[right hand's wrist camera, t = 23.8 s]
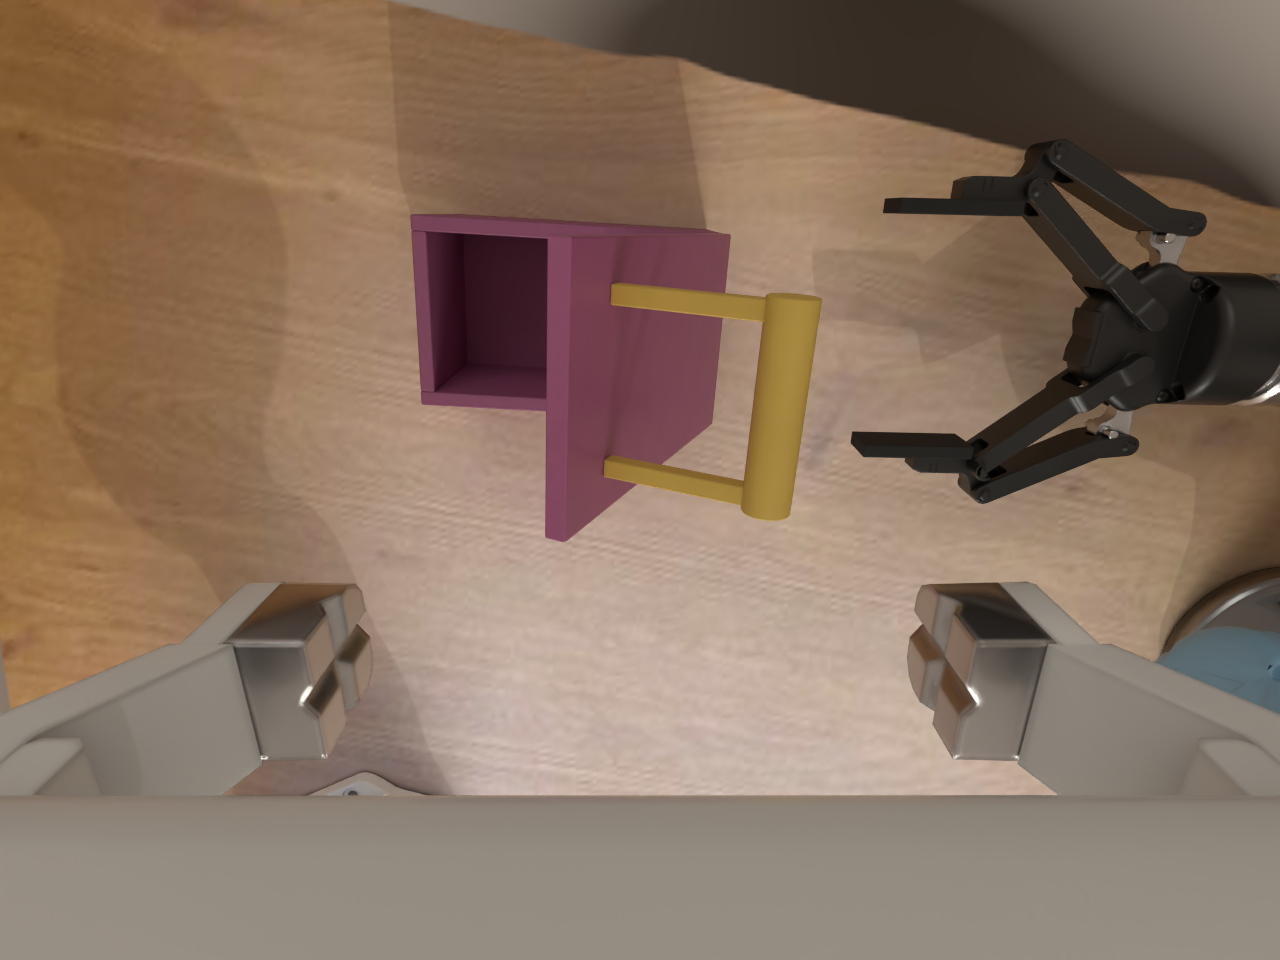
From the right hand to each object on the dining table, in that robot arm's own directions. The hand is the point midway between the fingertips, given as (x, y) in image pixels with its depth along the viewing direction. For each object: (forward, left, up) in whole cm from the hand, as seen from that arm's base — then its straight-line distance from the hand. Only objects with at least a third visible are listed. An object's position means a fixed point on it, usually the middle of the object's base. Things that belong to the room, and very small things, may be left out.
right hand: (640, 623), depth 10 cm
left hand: (+13, -5, -32) cm, 34 cm away
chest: (-4, +1, -38) cm, 38 cm away
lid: (0, 0, -21) cm, 21 cm away
